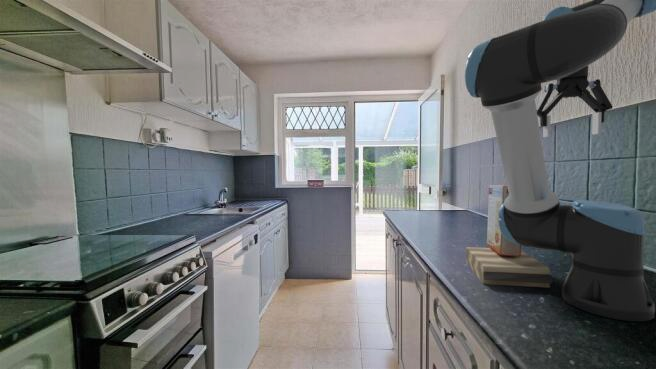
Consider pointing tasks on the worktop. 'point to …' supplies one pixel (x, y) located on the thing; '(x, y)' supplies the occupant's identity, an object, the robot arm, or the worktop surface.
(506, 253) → the cracker box
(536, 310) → the worktop surface
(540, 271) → the dock
